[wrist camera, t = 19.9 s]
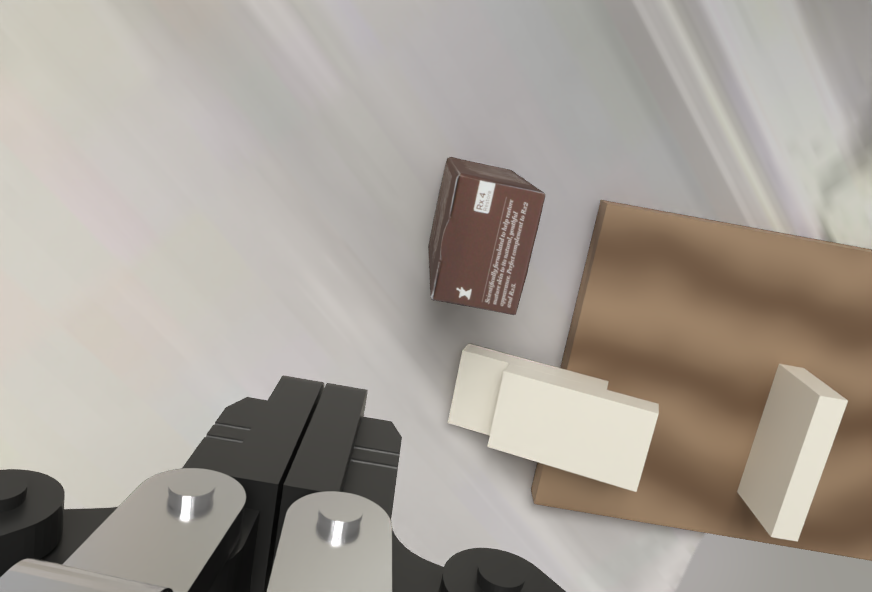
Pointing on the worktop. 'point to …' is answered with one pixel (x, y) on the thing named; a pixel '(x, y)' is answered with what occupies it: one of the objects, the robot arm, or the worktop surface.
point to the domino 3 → (790, 450)
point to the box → (482, 236)
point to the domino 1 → (493, 385)
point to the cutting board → (721, 367)
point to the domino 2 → (573, 426)
